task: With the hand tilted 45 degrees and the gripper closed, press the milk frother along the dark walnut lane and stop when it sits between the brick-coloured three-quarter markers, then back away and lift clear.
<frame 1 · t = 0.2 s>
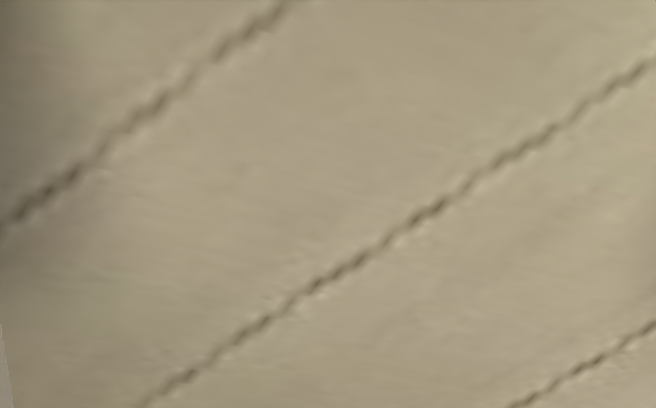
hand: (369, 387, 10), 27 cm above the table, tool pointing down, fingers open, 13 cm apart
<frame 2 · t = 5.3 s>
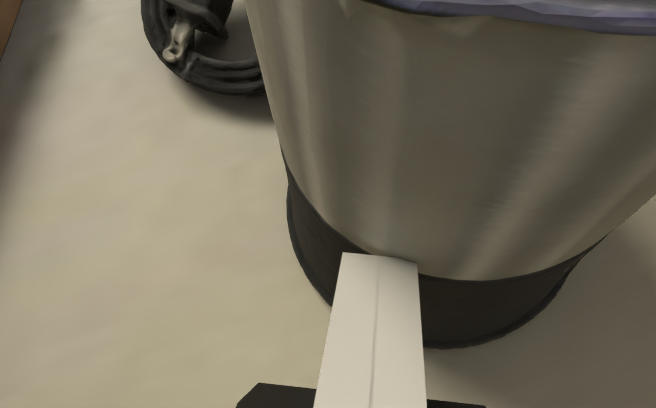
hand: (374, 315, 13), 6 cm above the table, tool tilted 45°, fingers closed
milk frother: (345, 129, 21), on the table, touching gripper
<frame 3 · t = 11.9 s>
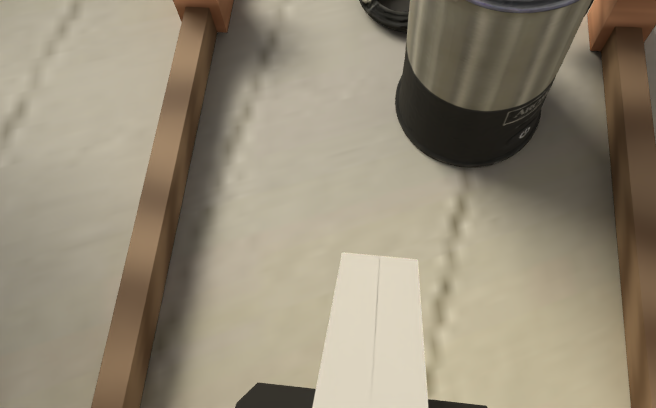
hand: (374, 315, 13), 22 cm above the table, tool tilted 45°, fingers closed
lane: (405, 23, 43), on the table
milk frother: (438, 59, 42), on the table
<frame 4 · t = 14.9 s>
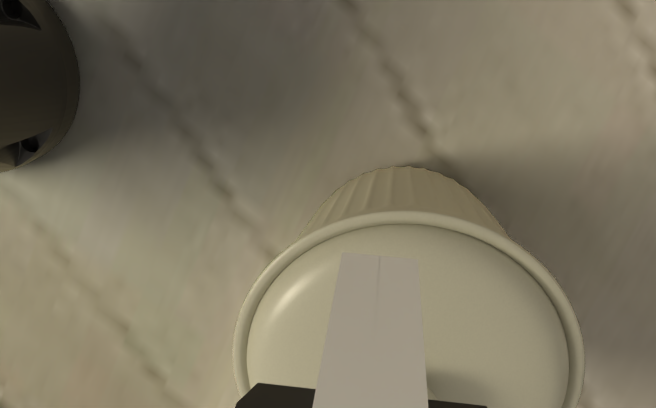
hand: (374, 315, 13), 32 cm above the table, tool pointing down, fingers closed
canister: (401, 240, 47), on the table
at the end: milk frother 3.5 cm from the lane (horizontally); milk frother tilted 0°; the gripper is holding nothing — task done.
